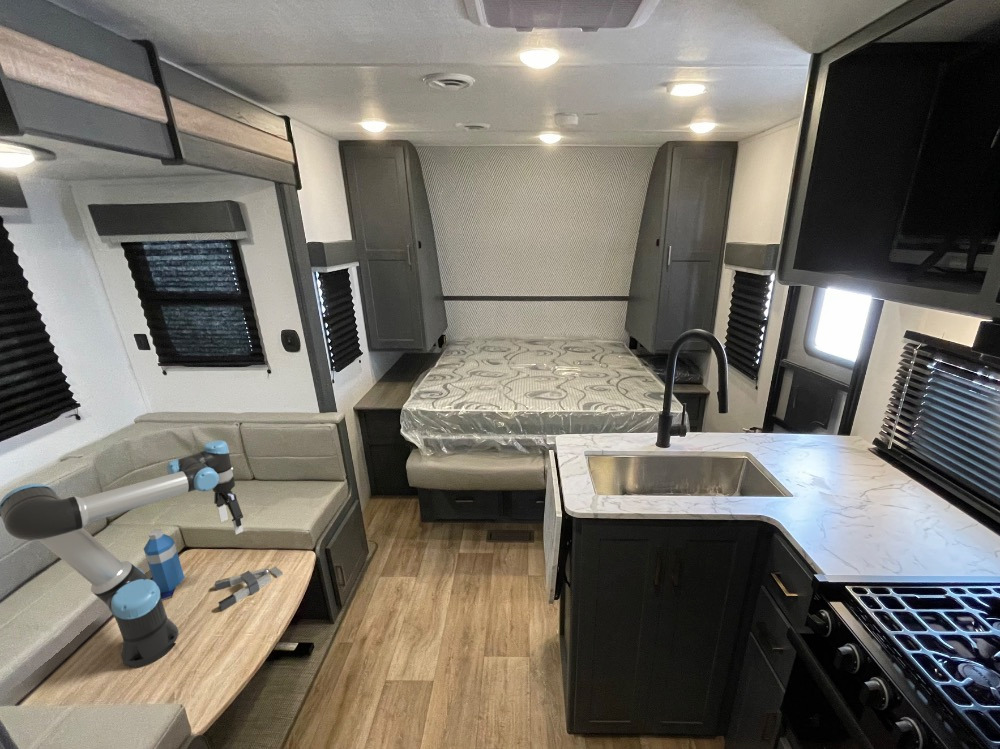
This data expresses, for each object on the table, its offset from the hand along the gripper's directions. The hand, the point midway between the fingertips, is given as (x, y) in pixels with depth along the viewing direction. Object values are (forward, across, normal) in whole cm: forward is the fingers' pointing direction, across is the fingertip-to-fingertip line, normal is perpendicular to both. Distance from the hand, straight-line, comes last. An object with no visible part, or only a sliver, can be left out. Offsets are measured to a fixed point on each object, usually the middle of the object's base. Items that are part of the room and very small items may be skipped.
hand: (231, 526), depth 172 cm
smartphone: (+22, +10, +20) cm, 31 cm away
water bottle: (+22, +14, +20) cm, 33 cm away
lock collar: (+20, -16, +3) cm, 26 cm away
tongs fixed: (+20, -15, +3) cm, 25 cm away
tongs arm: (+20, -10, +3) cm, 23 cm away
